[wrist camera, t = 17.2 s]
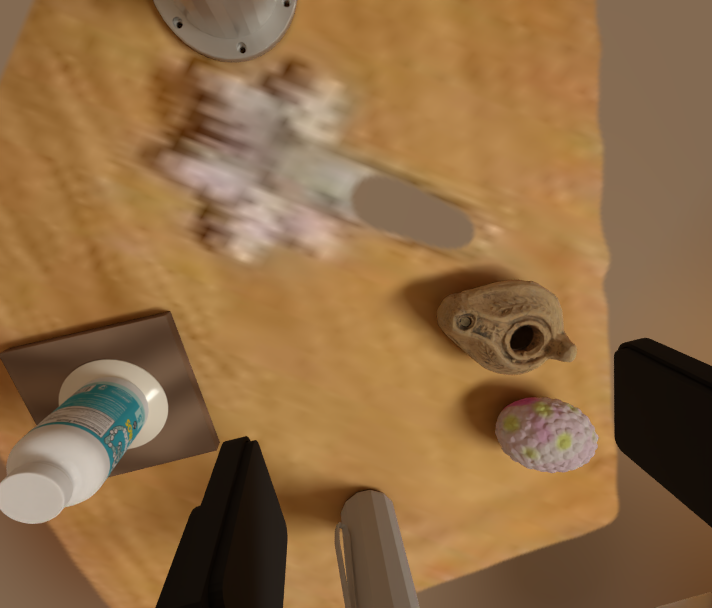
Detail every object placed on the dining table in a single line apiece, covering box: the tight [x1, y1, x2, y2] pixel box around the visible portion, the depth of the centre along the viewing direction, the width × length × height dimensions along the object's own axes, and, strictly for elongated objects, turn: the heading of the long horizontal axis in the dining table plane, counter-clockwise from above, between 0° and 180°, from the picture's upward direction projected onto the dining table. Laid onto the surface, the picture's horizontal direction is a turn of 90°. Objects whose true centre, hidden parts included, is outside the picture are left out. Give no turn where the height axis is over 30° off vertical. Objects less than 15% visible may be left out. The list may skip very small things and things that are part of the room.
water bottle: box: [335, 490, 420, 608], centre depth 40 cm, size 9×8×25 cm
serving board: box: [0, 311, 220, 477], centre depth 43 cm, size 17×17×2 cm
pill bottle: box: [0, 377, 149, 524], centre depth 35 cm, size 8×7×14 cm
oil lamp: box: [437, 280, 577, 375], centre depth 42 cm, size 11×15×8 cm
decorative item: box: [495, 397, 598, 473], centre depth 47 cm, size 9×11×10 cm
